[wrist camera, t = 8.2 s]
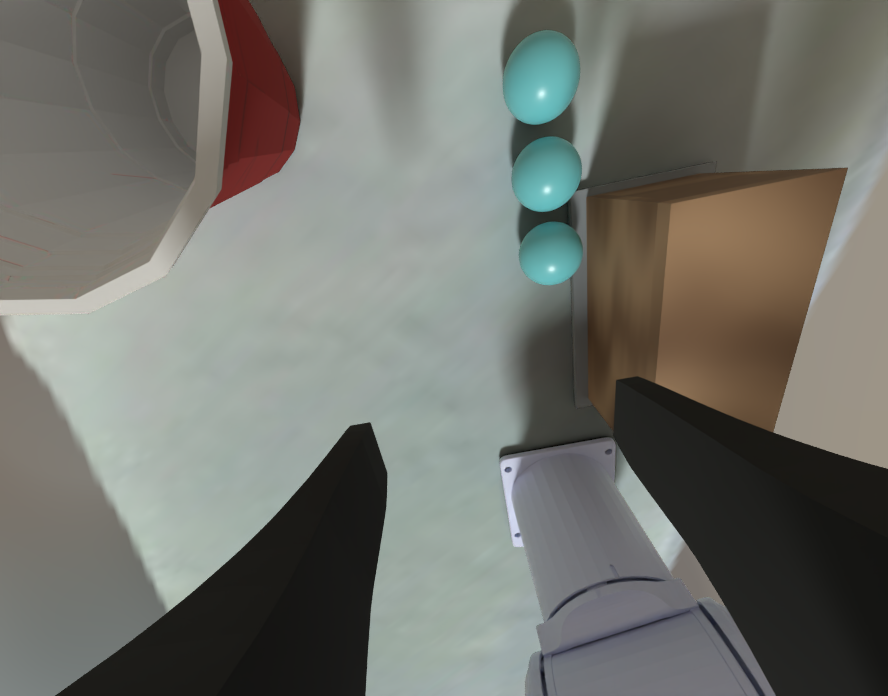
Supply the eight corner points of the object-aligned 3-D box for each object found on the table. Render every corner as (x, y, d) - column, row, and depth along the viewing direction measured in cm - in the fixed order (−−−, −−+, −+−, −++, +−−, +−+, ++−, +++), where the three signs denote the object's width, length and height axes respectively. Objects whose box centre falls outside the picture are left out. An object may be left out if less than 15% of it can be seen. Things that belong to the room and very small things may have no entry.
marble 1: (567, 202, 17) (594, 206, 15) (508, 215, 17) (523, 220, 15) (565, 134, 16) (593, 124, 13) (501, 148, 16) (516, 140, 14)
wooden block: (675, 382, 22) (766, 455, 16) (588, 398, 22) (646, 476, 16) (699, 173, 17) (848, 167, 11) (586, 196, 17) (670, 203, 11)
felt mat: (682, 385, 22) (686, 388, 22) (574, 405, 23) (577, 408, 22) (710, 162, 17) (716, 161, 17) (567, 192, 17) (570, 192, 17)
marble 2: (570, 271, 19) (594, 285, 16) (515, 281, 19) (530, 298, 16) (568, 213, 18) (594, 218, 15) (509, 225, 18) (525, 232, 15)
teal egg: (565, 121, 16) (593, 109, 13) (500, 135, 16) (515, 126, 13) (562, 39, 15) (593, 5, 12) (492, 55, 15) (507, 25, 12)
